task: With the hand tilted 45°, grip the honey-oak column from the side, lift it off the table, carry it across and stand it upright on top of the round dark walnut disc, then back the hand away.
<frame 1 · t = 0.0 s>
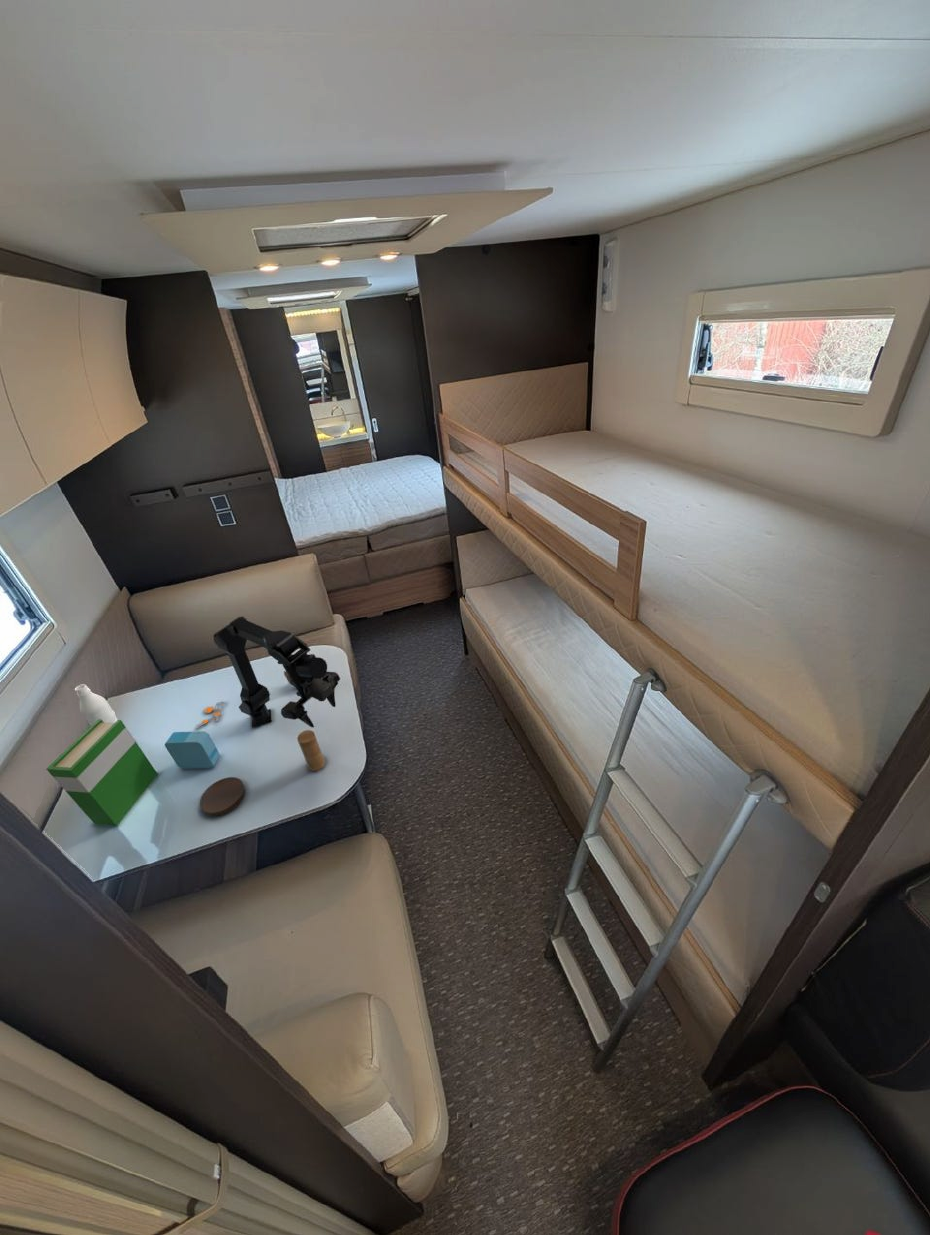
hand: (323, 716, 142), 15 cm above the table, tool pointing down, fingers open, 9 cm apart
water bottle: (119, 742, 163), on the table
key chain: (212, 715, 170), on the table
data package: (200, 763, 152), on the table
hardback book: (128, 798, 143), on the table
walnut disc: (224, 798, 139), on the table
oak column: (316, 764, 147), on the table
olive tapered rounded piece: (300, 686, 179), on the table
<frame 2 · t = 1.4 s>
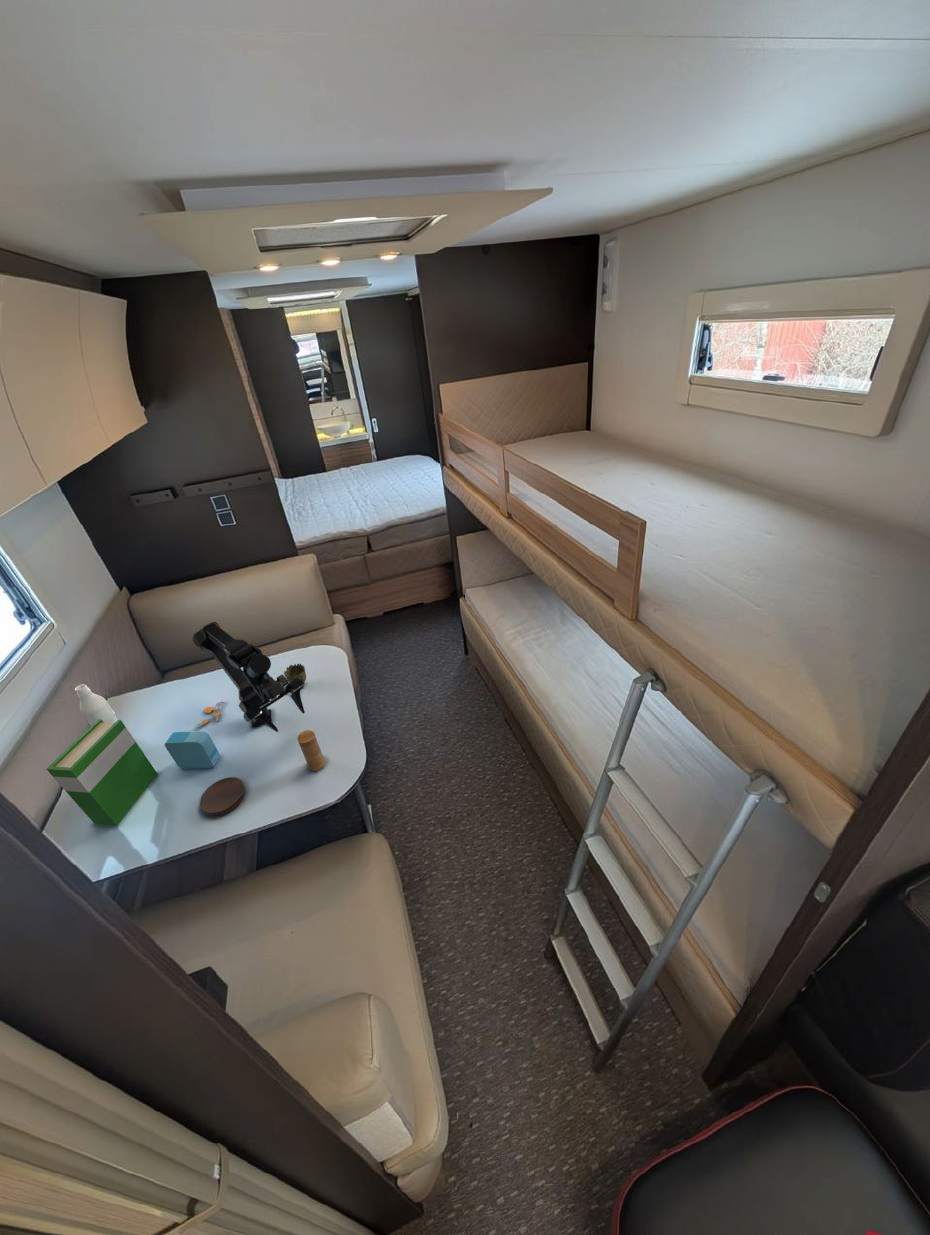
hand: (291, 722, 144), 13 cm above the table, tool tilted 45°, fingers open, 9 cm apart
nothing on the table moved.
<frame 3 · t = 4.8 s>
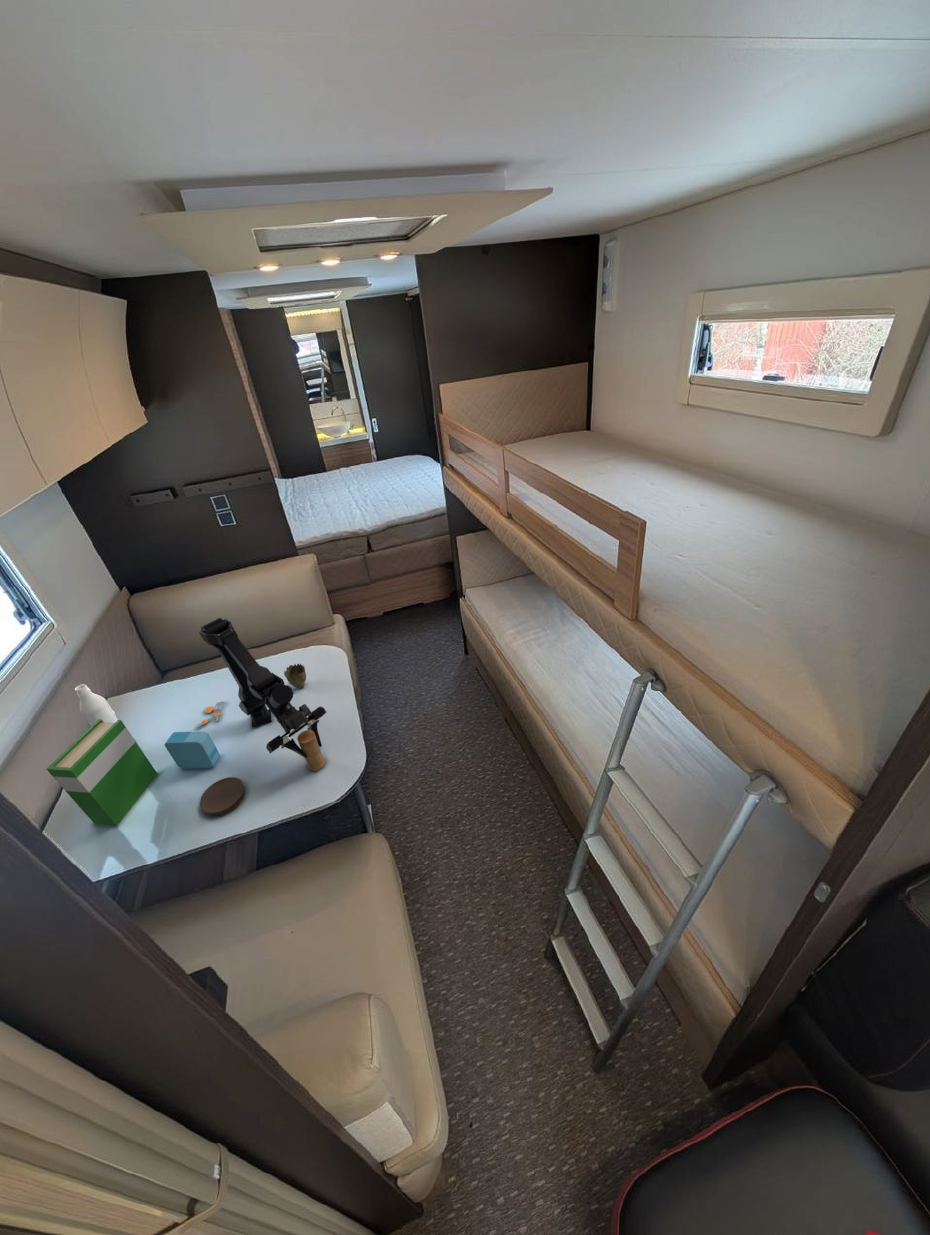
hand: (313, 752, 142), 7 cm above the table, tool tilted 45°, fingers closed on oak column, 5 cm apart
oak column: (317, 764, 147), on the table, touching gripper
everything else where it was.
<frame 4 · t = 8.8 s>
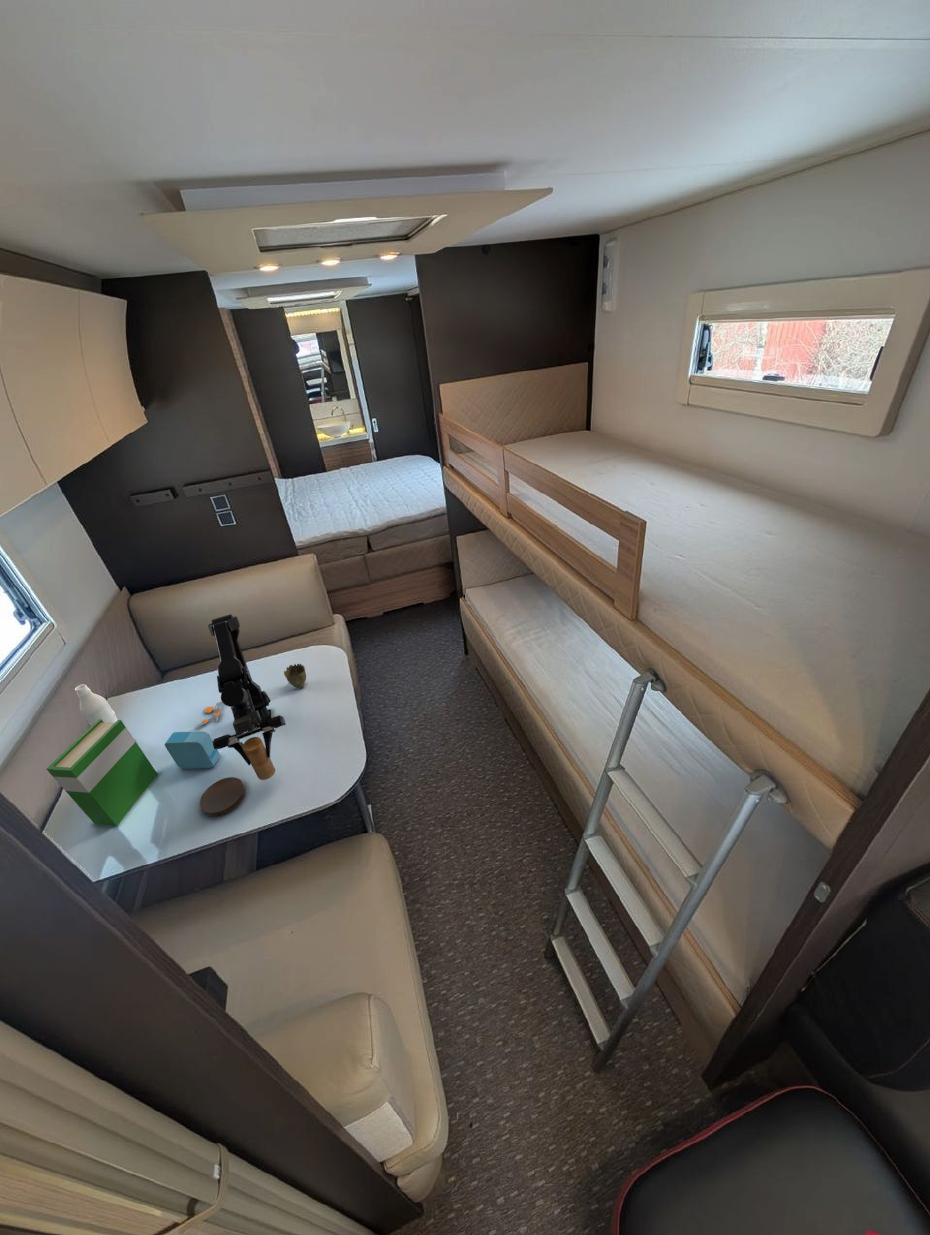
hand: (259, 761, 134), 12 cm above the table, tool tilted 45°, fingers closed on oak column, 5 cm apart
oak column: (266, 772, 138), point 6 cm above the table, touching gripper
everything else where it was.
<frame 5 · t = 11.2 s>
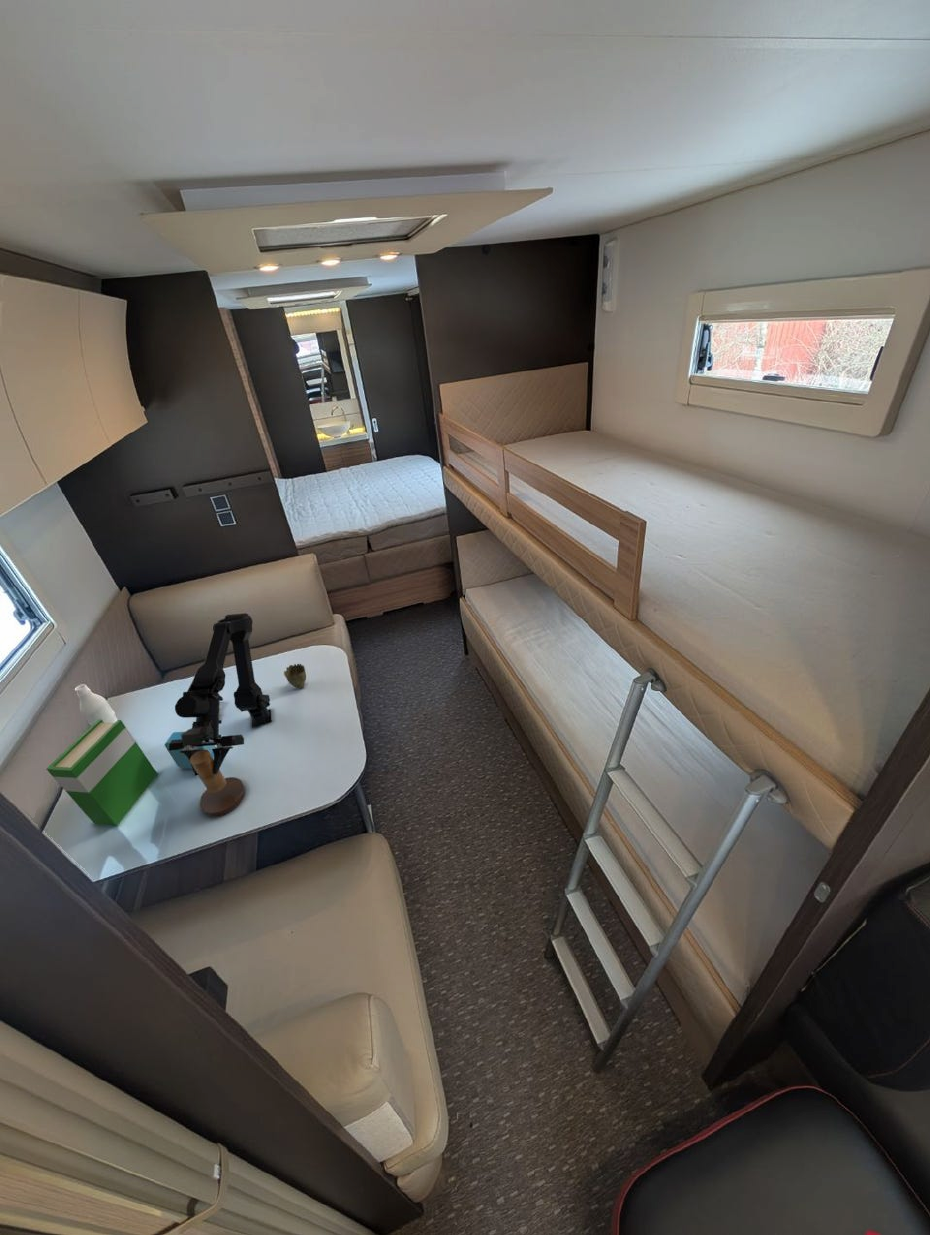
hand: (205, 774, 131), 12 cm above the table, tool tilted 45°, fingers closed on oak column, 5 cm apart
oak column: (217, 785, 136), point 6 cm above the table, touching gripper
everything else where it was.
when the fingers open (9 cm above the table, at t = 13.1 s): oak column stays where it is, resting on walnut disc.
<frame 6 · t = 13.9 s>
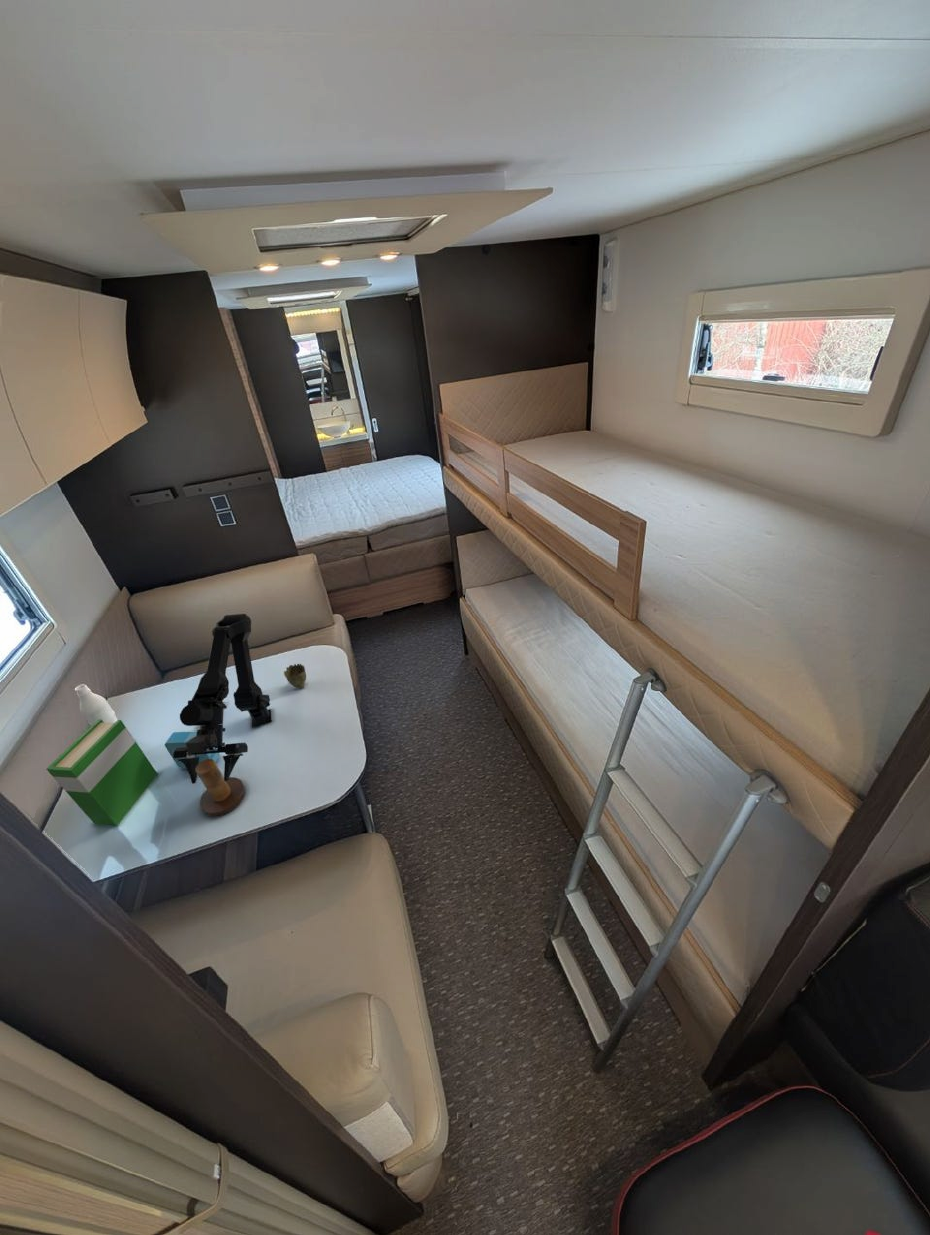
hand: (209, 782, 133), 9 cm above the table, tool tilted 45°, fingers open, 9 cm apart
oak column: (221, 794, 138), point 2 cm above the table, touching walnut disc
everything else where it was.
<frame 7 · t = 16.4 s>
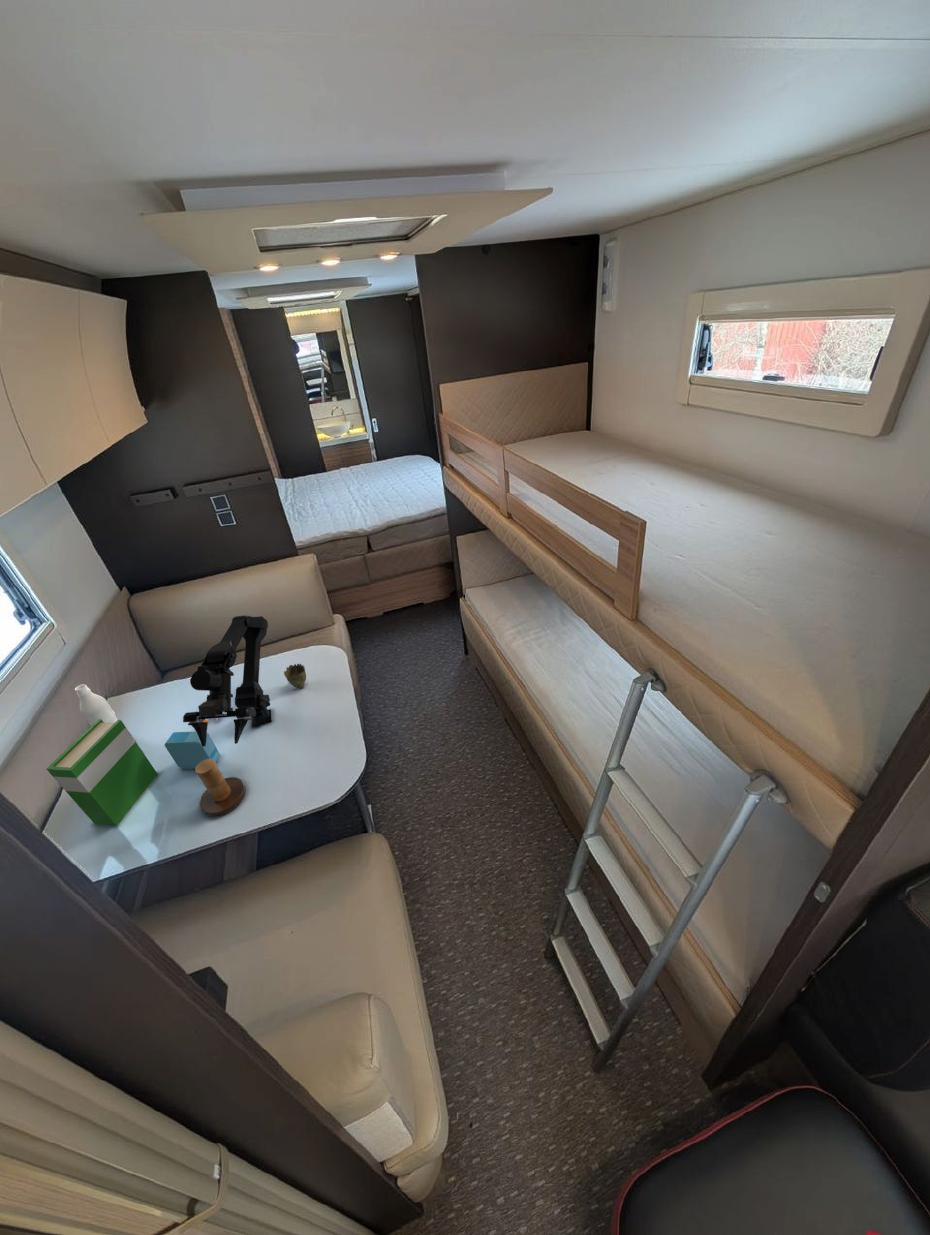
hand: (220, 745, 139), 13 cm above the table, tool tilted 45°, fingers open, 9 cm apart
nothing on the table moved.
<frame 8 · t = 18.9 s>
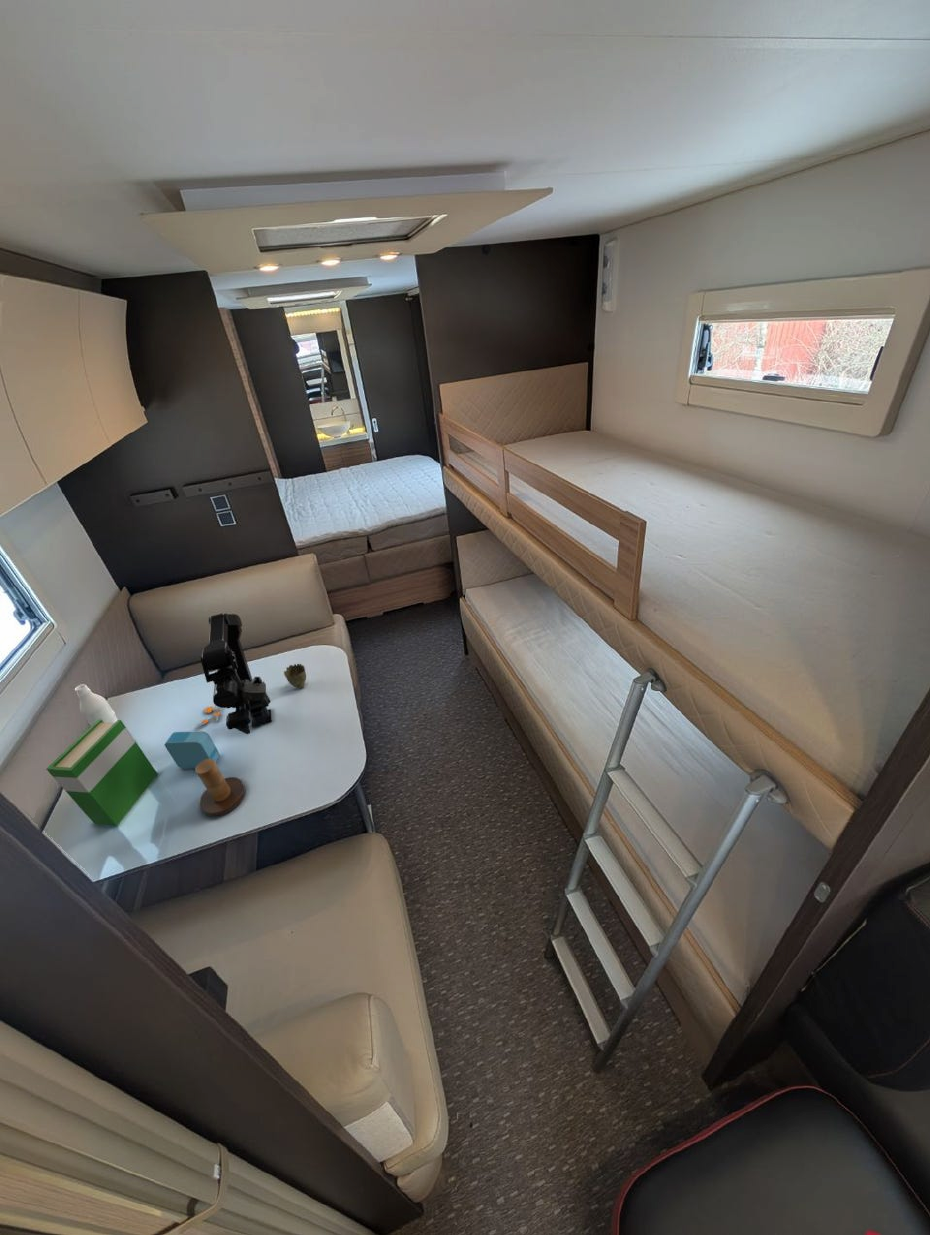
hand: (248, 723, 146), 13 cm above the table, tool pointing down, fingers open, 9 cm apart
nothing on the table moved.
at the end: oak column 0.0 cm off-centre on the walnut disc, point 2.0 cm above the walnut disc's base; oak column tilted 0°; the gripper is holding nothing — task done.
